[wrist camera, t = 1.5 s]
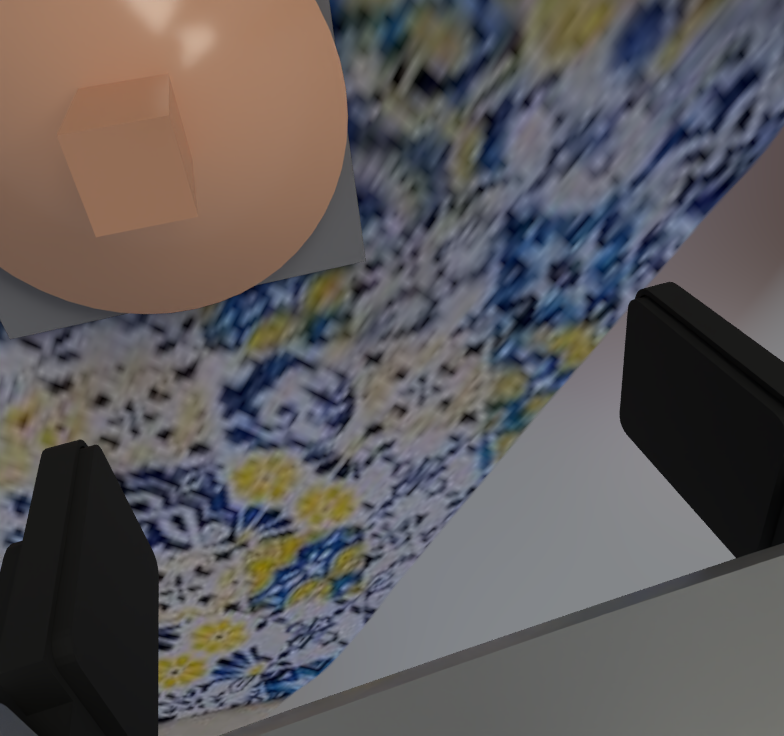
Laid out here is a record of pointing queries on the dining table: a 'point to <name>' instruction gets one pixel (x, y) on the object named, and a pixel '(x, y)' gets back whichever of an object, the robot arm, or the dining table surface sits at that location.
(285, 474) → the dining table surface
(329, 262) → the mat
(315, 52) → the lid
